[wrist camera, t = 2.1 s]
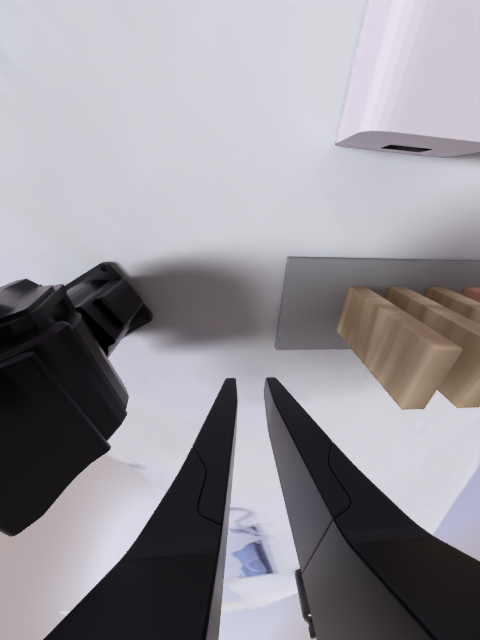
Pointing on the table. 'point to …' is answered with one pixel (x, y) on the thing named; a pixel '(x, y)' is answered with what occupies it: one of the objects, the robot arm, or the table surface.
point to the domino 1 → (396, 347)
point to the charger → (415, 78)
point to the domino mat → (332, 286)
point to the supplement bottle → (304, 603)
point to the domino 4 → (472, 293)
